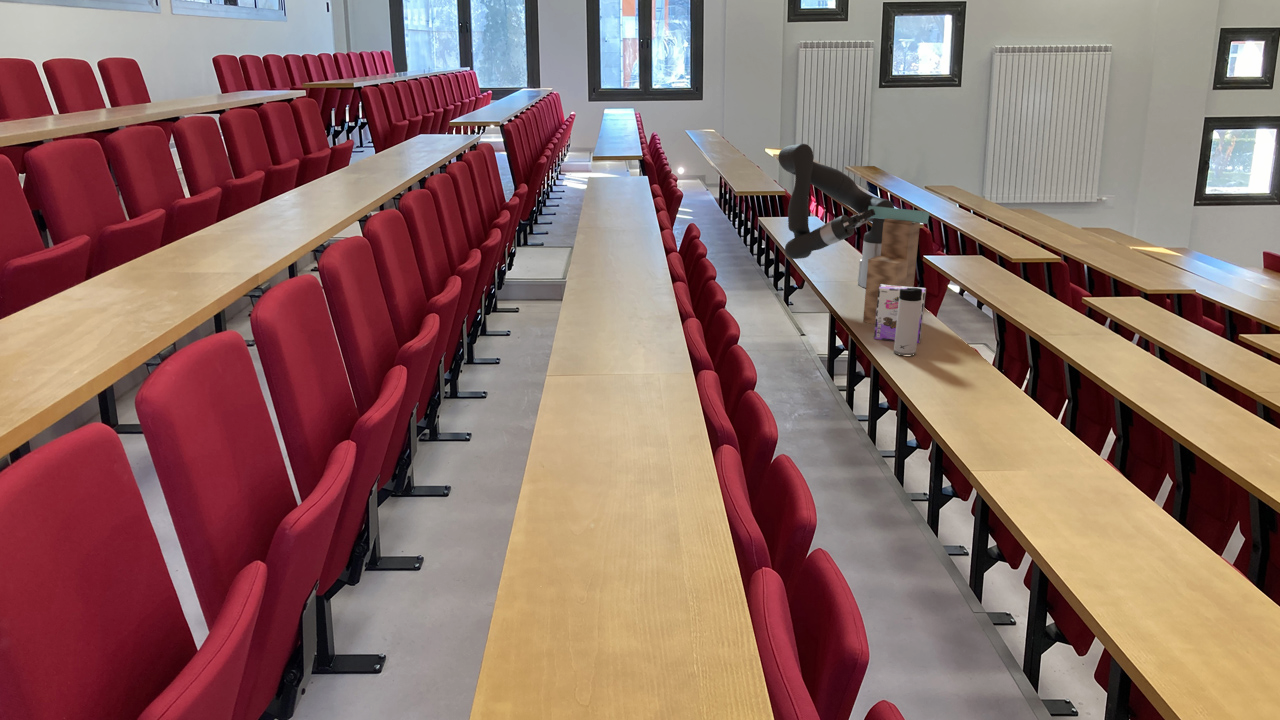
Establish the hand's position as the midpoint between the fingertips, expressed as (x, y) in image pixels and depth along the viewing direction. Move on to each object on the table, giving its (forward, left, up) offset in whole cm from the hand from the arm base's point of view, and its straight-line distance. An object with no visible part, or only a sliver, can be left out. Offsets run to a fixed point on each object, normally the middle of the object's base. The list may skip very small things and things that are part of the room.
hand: (878, 210), depth 299 cm
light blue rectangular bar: (+7, +1, -2) cm, 7 cm away
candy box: (+25, -17, -35) cm, 46 cm away
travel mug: (+36, -27, -35) cm, 57 cm away
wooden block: (+10, -6, -35) cm, 37 cm away
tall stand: (+8, +2, -35) cm, 36 cm away
